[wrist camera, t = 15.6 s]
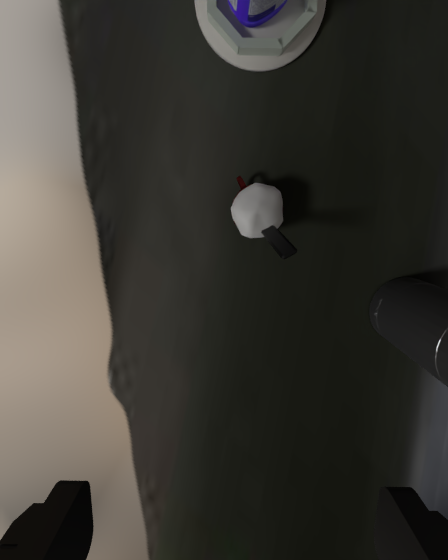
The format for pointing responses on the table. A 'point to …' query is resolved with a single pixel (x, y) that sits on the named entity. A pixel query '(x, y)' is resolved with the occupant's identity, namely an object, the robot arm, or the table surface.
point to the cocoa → (261, 215)
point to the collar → (260, 33)
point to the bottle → (255, 10)
